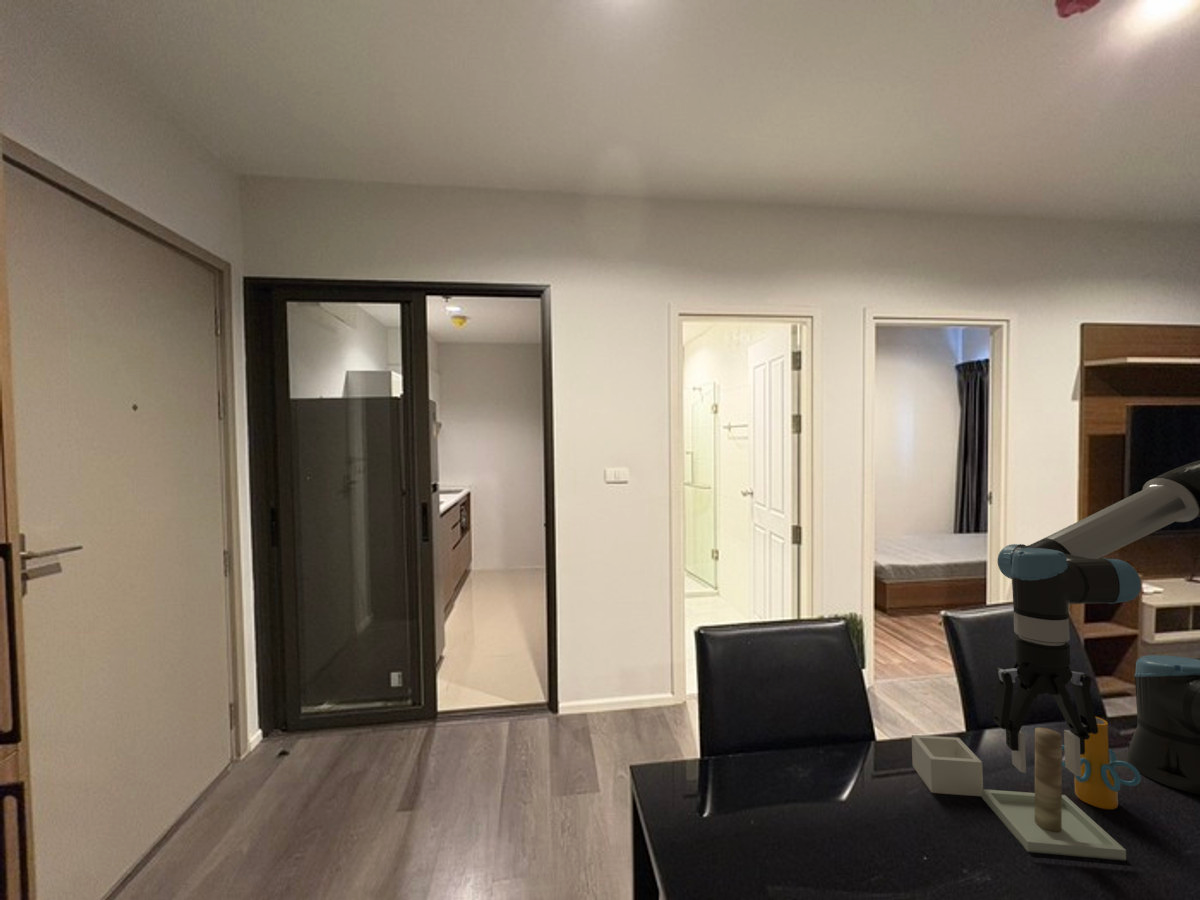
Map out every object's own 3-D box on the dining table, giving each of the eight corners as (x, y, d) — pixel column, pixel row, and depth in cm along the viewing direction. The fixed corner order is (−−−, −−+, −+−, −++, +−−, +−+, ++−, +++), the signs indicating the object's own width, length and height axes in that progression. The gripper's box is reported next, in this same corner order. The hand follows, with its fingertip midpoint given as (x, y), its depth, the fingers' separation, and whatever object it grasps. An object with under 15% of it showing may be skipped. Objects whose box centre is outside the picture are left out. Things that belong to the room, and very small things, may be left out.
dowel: (1052, 819, 95) (1052, 728, 95) (1066, 833, 91) (1067, 739, 91) (1029, 816, 95) (1030, 726, 95) (1043, 830, 92) (1043, 737, 92)
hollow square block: (959, 771, 111) (958, 737, 111) (983, 799, 102) (982, 762, 102) (912, 768, 112) (911, 735, 112) (931, 795, 103) (930, 759, 103)
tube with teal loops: (1155, 825, 94) (1152, 739, 94) (1086, 818, 96) (1083, 734, 96) (1105, 783, 106) (1102, 706, 106) (1044, 778, 108) (1042, 703, 108)
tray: (1065, 807, 99) (1065, 795, 99) (1126, 864, 85) (1125, 850, 85) (981, 800, 101) (981, 789, 101) (1028, 855, 88) (1027, 841, 88)
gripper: (1092, 633, 96) (1096, 761, 95) (965, 629, 99) (969, 754, 99) (1125, 648, 88) (1130, 787, 88) (988, 643, 92) (992, 778, 91)
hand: (1045, 769), depth 93 cm, fingers open, 8 cm apart
